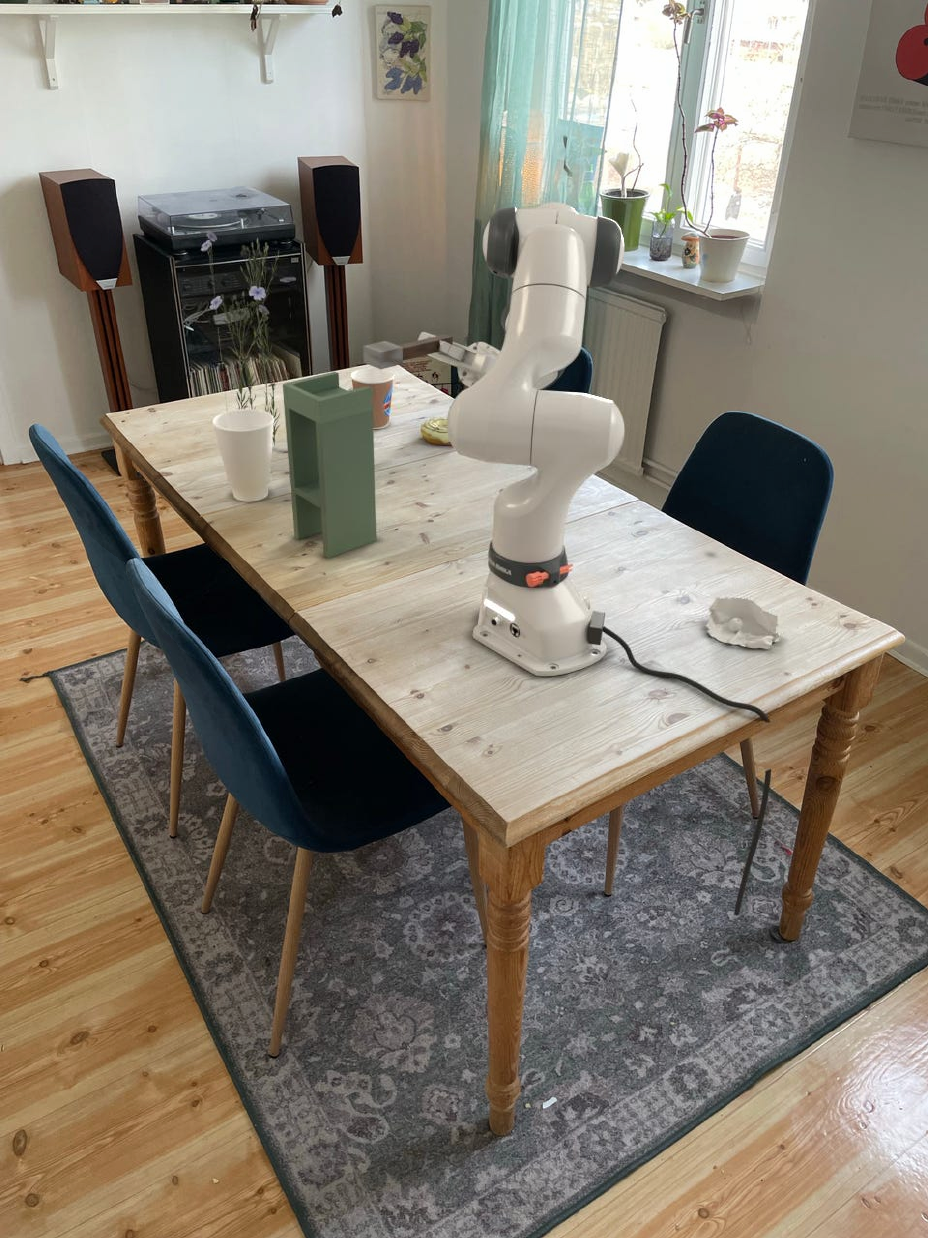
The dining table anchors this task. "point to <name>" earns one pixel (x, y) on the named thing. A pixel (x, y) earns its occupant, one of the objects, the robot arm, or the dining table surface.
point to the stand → (331, 462)
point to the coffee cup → (376, 392)
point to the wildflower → (258, 294)
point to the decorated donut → (436, 431)
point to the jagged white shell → (742, 623)
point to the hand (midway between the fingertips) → (433, 342)
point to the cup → (246, 451)
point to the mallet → (400, 351)
